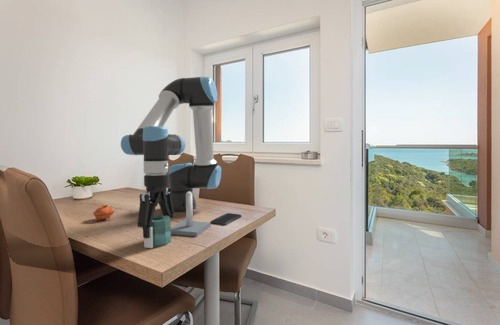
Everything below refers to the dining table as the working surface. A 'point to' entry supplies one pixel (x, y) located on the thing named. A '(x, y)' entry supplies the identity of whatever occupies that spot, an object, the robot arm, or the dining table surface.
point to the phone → (225, 219)
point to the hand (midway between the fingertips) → (158, 241)
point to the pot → (103, 212)
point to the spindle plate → (190, 230)
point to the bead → (161, 230)
